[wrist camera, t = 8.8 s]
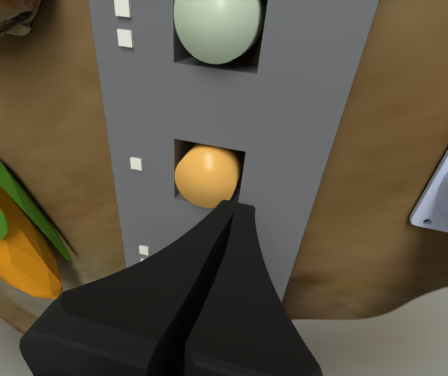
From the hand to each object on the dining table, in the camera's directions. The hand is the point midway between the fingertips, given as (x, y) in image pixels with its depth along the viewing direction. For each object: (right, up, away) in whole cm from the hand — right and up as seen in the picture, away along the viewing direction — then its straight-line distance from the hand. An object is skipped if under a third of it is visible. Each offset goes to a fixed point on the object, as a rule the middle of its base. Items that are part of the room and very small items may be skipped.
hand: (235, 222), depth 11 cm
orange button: (-1, +3, +9) cm, 9 cm away
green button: (0, +11, +4) cm, 12 cm away
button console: (-1, +4, +9) cm, 10 cm away
